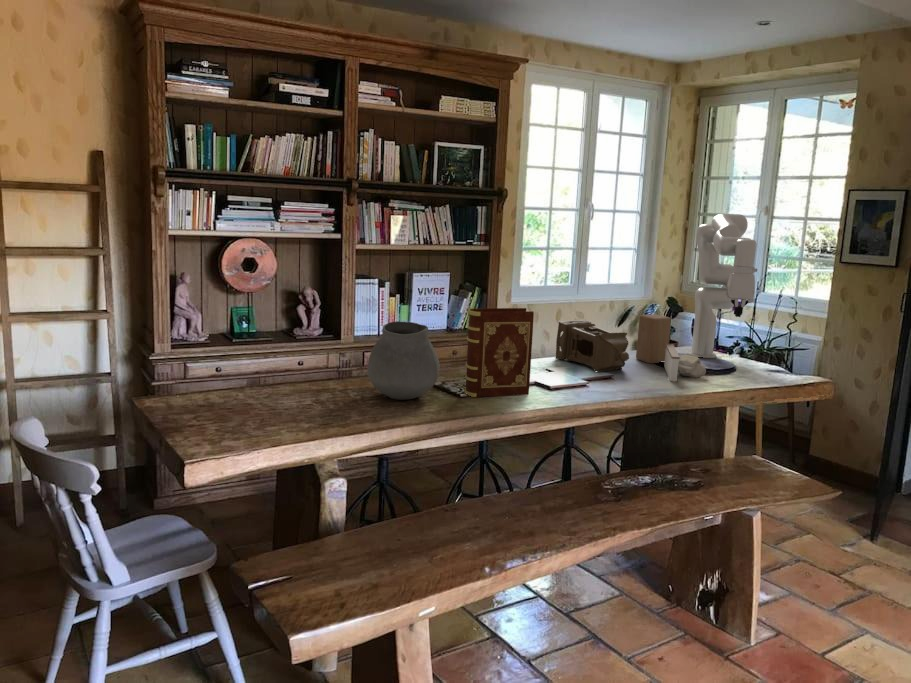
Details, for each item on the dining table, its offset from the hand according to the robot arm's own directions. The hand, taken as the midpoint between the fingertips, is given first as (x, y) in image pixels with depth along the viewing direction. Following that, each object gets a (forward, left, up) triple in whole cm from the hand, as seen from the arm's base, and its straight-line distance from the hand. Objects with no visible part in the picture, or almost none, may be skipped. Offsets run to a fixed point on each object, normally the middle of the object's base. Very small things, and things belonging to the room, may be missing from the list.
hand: (737, 316), depth 295 cm
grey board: (+2, -24, -25) cm, 35 cm away
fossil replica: (+4, -17, -25) cm, 31 cm away
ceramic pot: (+71, -119, -25) cm, 141 cm away
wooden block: (-20, -30, -25) cm, 44 cm away
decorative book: (+56, -89, -25) cm, 108 cm away
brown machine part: (0, -54, -26) cm, 60 cm away
